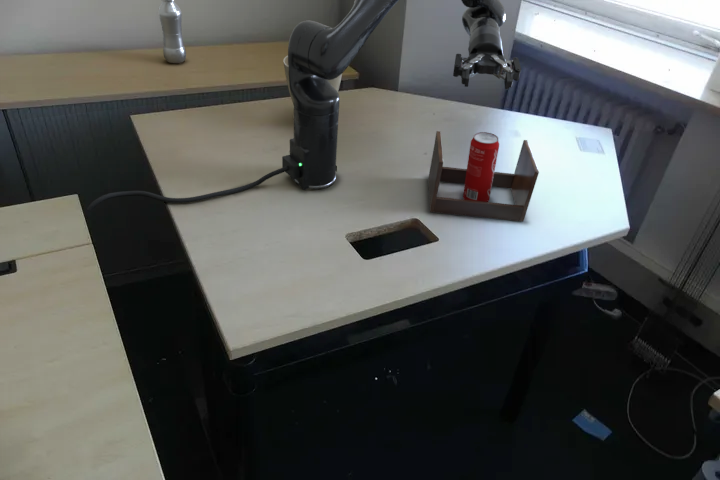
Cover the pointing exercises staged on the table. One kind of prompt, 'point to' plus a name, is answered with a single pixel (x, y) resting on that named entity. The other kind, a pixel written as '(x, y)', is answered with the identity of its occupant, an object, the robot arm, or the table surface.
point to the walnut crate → (517, 182)
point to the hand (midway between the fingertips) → (487, 84)
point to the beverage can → (481, 167)
